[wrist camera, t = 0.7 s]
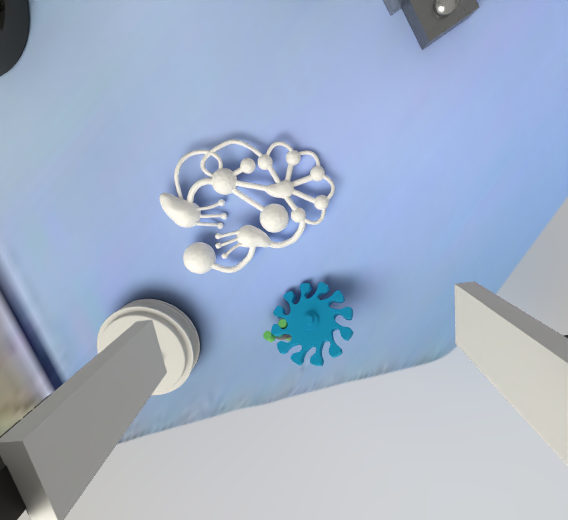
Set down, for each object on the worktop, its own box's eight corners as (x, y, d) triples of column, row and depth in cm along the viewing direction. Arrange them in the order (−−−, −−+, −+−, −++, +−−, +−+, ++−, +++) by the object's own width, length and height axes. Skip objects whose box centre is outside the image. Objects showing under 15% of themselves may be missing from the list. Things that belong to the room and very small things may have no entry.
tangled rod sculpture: (310, 114, 35) (310, 102, 31) (346, 234, 37) (351, 237, 33) (158, 170, 38) (140, 165, 34) (199, 280, 40) (187, 288, 35)
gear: (342, 270, 37) (361, 355, 31) (352, 288, 41) (369, 365, 36) (258, 292, 40) (263, 373, 35) (276, 307, 44) (283, 380, 39)
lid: (139, 278, 41) (117, 291, 36) (219, 331, 42) (208, 350, 37) (98, 346, 44) (72, 366, 39) (173, 393, 45) (157, 419, 40)
